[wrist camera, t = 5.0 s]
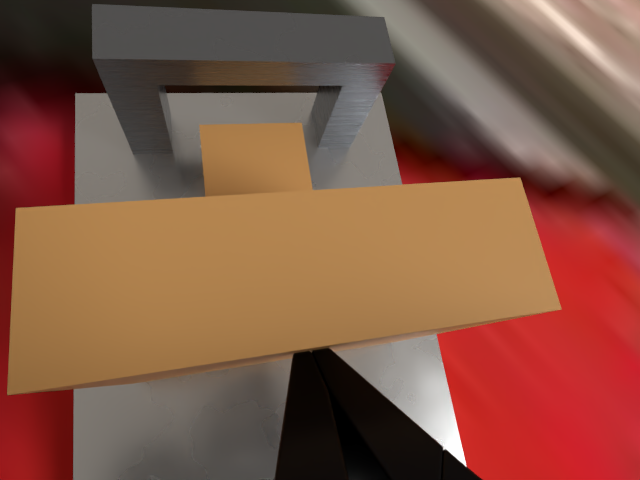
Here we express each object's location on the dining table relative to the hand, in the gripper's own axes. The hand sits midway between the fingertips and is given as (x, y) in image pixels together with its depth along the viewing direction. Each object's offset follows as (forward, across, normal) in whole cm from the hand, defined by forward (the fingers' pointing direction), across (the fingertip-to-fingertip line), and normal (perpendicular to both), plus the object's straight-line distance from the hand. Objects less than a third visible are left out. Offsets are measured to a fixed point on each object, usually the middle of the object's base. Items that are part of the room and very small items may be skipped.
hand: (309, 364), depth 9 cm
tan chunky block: (+8, 0, +1) cm, 8 cm away
